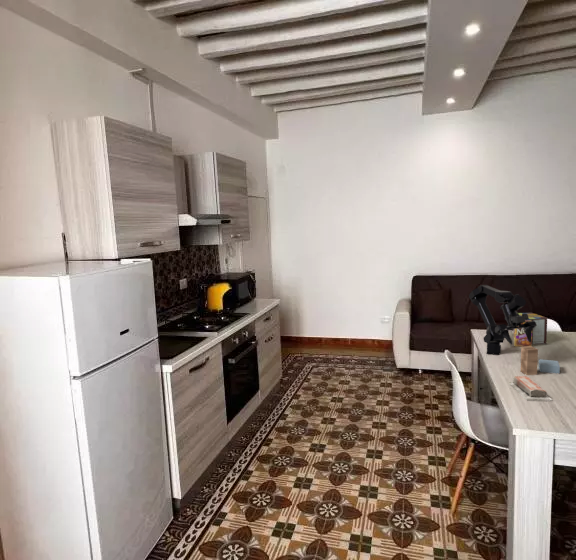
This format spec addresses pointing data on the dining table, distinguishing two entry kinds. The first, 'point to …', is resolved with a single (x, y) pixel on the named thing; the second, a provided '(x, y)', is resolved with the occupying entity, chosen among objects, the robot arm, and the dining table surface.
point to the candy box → (521, 337)
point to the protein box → (538, 328)
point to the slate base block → (549, 366)
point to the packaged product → (529, 389)
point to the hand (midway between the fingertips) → (521, 343)
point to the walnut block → (529, 360)
